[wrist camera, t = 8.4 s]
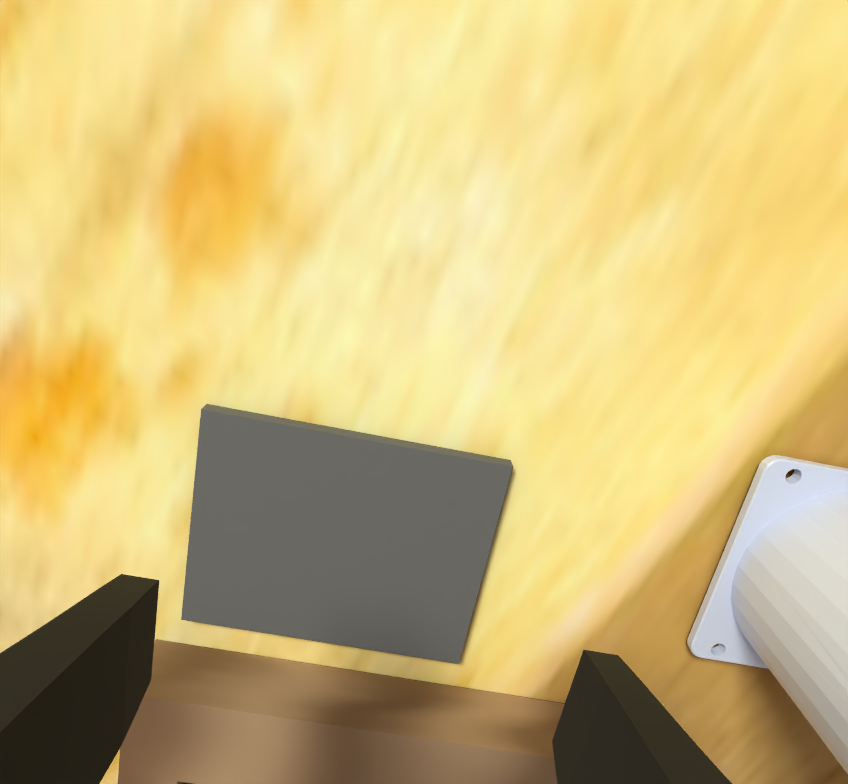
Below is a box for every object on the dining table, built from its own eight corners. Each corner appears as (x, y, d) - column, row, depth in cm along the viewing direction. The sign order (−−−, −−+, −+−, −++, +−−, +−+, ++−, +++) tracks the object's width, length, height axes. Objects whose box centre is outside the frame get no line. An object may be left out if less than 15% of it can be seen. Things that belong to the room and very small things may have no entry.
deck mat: (510, 460, 20) (512, 466, 19) (458, 654, 22) (458, 663, 22) (206, 404, 19) (201, 409, 18) (186, 610, 21) (181, 619, 21)
